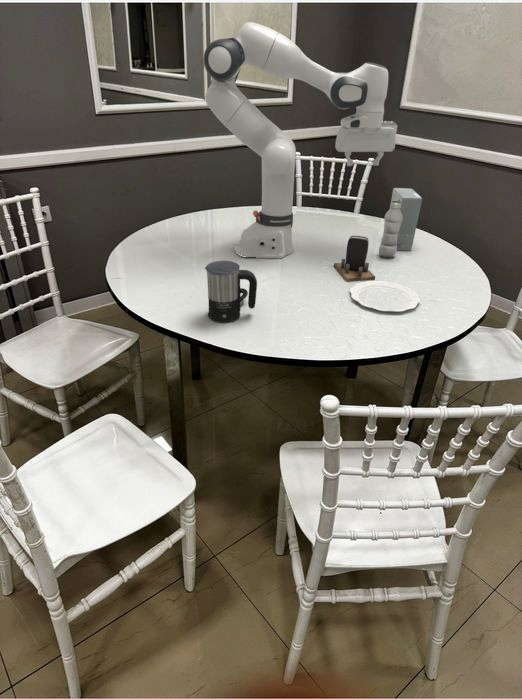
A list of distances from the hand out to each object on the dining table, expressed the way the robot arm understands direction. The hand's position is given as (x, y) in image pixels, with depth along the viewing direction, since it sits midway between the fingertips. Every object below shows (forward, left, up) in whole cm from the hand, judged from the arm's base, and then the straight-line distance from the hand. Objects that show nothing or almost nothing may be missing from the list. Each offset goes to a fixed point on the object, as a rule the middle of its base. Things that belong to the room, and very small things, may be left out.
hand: (362, 165), depth 161 cm
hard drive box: (+22, +6, -31) cm, 39 cm away
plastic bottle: (+12, -6, -31) cm, 34 cm away
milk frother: (-52, -38, -31) cm, 72 cm away
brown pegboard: (-6, -19, -31) cm, 37 cm away
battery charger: (-6, -18, -30) cm, 36 cm away
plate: (-4, -39, -32) cm, 50 cm away
